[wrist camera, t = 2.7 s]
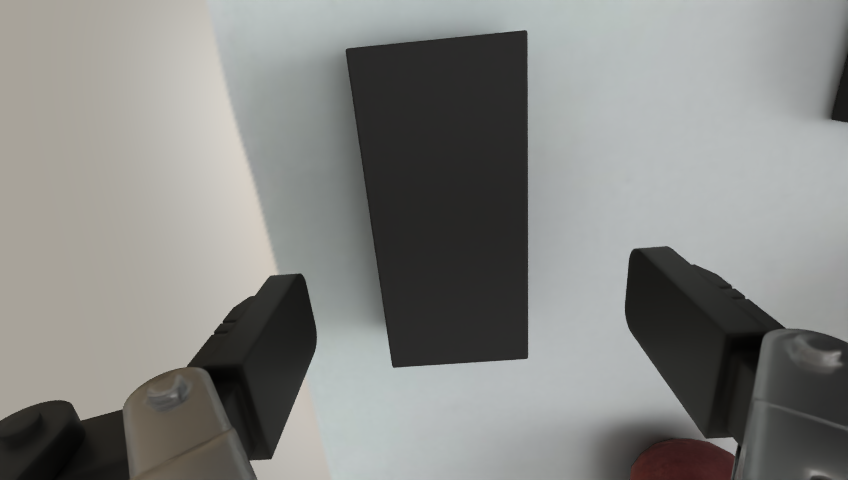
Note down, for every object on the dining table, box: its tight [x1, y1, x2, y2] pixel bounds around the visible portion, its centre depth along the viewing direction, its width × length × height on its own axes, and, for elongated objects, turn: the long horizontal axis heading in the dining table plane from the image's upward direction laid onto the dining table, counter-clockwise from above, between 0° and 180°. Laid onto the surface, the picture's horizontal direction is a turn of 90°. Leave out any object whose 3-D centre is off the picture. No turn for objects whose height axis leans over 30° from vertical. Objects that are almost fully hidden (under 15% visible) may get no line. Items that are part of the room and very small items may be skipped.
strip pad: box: [346, 30, 528, 368], centre depth 17 cm, size 12×6×3 cm, turn 5°
